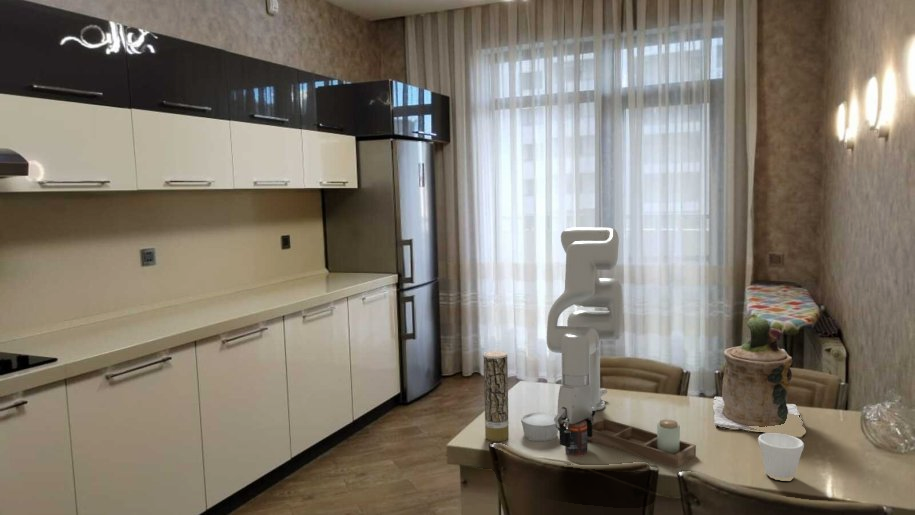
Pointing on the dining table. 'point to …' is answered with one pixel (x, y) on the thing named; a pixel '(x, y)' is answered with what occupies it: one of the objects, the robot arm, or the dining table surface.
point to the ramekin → (539, 426)
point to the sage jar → (668, 436)
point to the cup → (780, 453)
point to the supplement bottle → (577, 439)
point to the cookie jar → (755, 381)
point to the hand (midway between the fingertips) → (576, 440)
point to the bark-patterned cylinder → (496, 395)
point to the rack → (638, 442)
